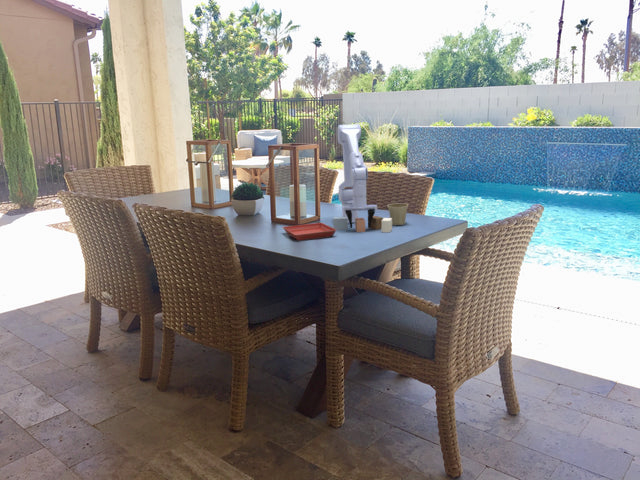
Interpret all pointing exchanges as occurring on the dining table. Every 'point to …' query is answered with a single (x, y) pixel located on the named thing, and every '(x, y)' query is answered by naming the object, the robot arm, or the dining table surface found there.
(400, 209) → the flower pot
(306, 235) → the plant saucer
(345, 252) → the dining table surface
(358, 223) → the terracotta brick
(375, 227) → the walnut brick
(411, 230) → the dining table surface
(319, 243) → the dining table surface
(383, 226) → the cream brick
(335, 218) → the slate-blue brick
